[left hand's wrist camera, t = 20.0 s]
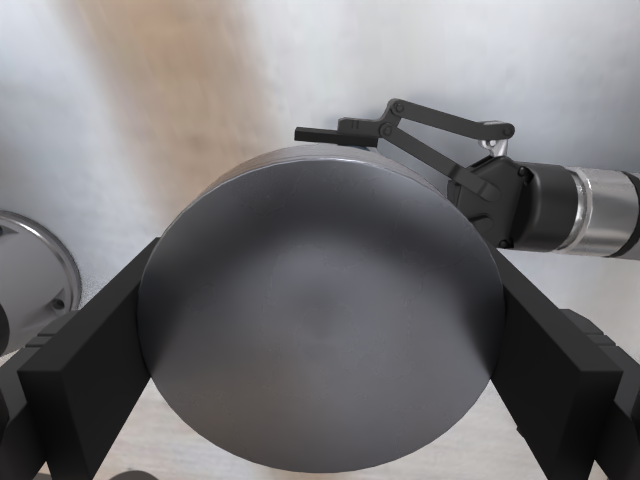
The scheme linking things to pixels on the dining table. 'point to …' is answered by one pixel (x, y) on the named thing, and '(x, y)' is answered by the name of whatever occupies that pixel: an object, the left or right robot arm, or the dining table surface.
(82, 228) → the dining table surface
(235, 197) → the lid
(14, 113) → the dining table surface
